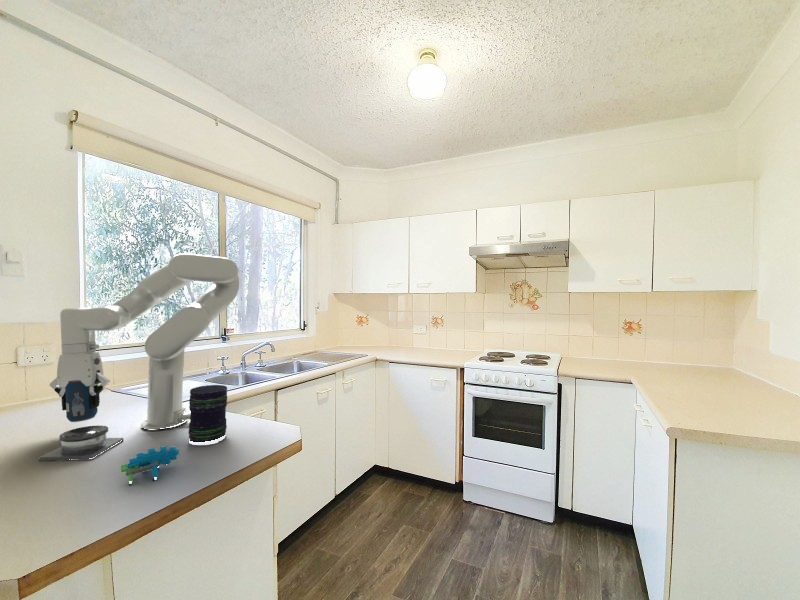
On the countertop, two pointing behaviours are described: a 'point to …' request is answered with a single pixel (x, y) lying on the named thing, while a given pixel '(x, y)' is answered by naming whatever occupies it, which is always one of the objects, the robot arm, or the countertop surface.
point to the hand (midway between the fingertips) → (81, 407)
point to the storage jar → (207, 413)
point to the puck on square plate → (81, 444)
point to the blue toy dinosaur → (149, 461)
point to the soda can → (78, 402)
